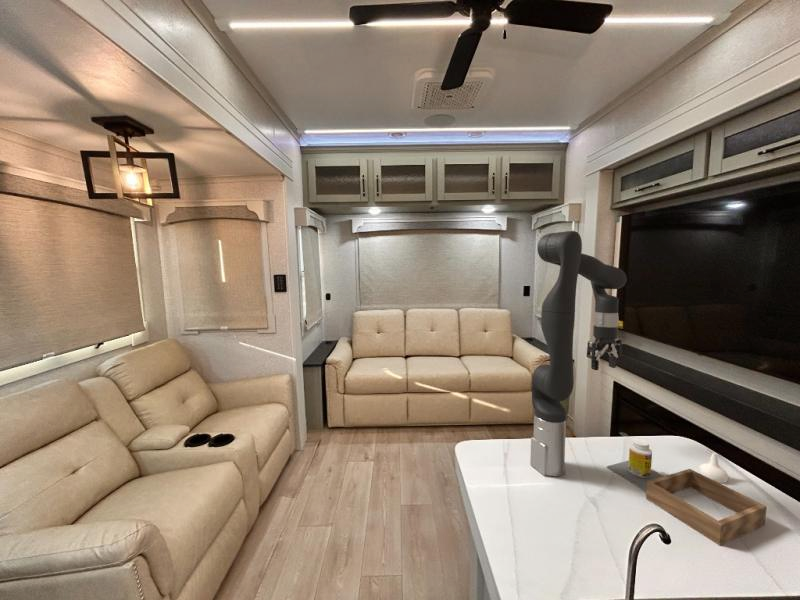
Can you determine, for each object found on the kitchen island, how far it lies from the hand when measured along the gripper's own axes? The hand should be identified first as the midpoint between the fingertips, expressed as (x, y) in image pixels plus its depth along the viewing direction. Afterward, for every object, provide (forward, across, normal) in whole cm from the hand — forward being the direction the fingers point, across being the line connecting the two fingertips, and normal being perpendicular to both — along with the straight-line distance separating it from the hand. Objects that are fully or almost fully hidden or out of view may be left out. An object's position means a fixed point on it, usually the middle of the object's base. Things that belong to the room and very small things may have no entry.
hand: (603, 368), depth 114 cm
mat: (+28, +6, +18) cm, 34 cm away
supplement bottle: (+28, +6, +18) cm, 34 cm away
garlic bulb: (+28, -14, +26) cm, 41 cm away
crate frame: (+28, +6, +34) cm, 45 cm away
